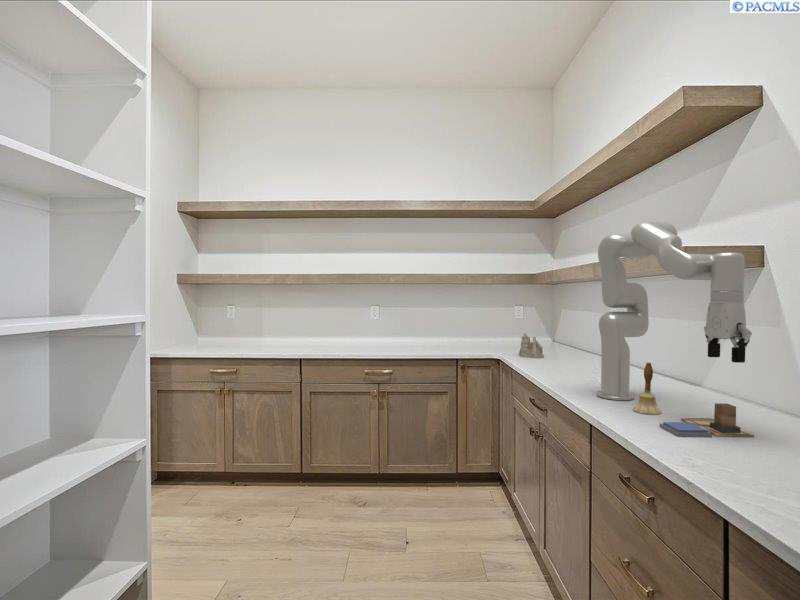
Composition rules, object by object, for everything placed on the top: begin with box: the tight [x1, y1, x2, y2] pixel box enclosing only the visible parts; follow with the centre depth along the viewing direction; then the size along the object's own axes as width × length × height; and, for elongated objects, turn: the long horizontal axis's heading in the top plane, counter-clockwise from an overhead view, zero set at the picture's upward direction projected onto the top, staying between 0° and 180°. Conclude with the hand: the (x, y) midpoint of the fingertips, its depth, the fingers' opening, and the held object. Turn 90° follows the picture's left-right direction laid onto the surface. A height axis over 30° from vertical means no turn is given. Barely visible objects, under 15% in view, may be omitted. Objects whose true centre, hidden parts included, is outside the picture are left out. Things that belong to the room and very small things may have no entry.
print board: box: [680, 417, 755, 438], centre depth 131 cm, size 16×10×1 cm, turn 179°
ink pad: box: [659, 421, 713, 438], centre depth 127 cm, size 9×9×2 cm
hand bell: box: [632, 362, 663, 416], centre depth 149 cm, size 8×8×16 cm
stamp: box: [710, 402, 742, 433], centre depth 127 cm, size 5×5×7 cm
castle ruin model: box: [518, 332, 545, 359], centre depth 282 cm, size 16×16×15 cm
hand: (725, 359), depth 127 cm, fingers open, 9 cm apart
